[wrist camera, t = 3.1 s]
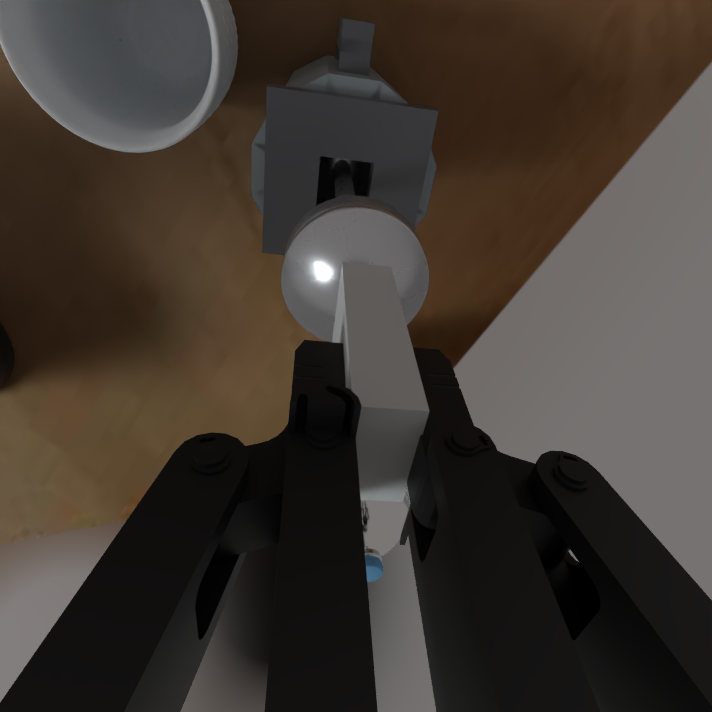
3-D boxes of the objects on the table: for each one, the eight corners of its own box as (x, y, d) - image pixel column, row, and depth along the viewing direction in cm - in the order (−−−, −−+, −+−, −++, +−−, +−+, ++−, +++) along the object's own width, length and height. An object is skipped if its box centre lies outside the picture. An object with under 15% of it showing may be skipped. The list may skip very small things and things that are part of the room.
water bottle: (313, 333, 50) (306, 552, 30) (378, 322, 50) (416, 536, 29) (326, 384, 54) (327, 607, 33) (386, 374, 54) (425, 594, 33)
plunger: (289, 208, 31) (263, 349, 18) (295, 103, 27) (268, 183, 14) (381, 218, 31) (423, 362, 18) (398, 118, 28) (464, 207, 15)
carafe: (272, 184, 41) (247, 264, 28) (278, 8, 34) (249, 2, 21) (387, 198, 42) (416, 280, 29) (416, 30, 35) (471, 39, 22)
